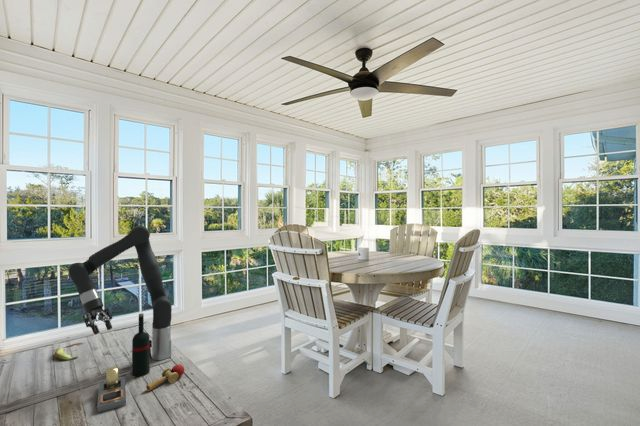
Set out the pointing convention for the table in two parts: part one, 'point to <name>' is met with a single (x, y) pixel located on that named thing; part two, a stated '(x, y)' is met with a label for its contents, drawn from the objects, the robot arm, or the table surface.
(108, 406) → the grey flat frame
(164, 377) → the kendama
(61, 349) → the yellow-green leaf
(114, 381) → the brass peg
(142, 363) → the wine bottle
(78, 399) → the table surface
